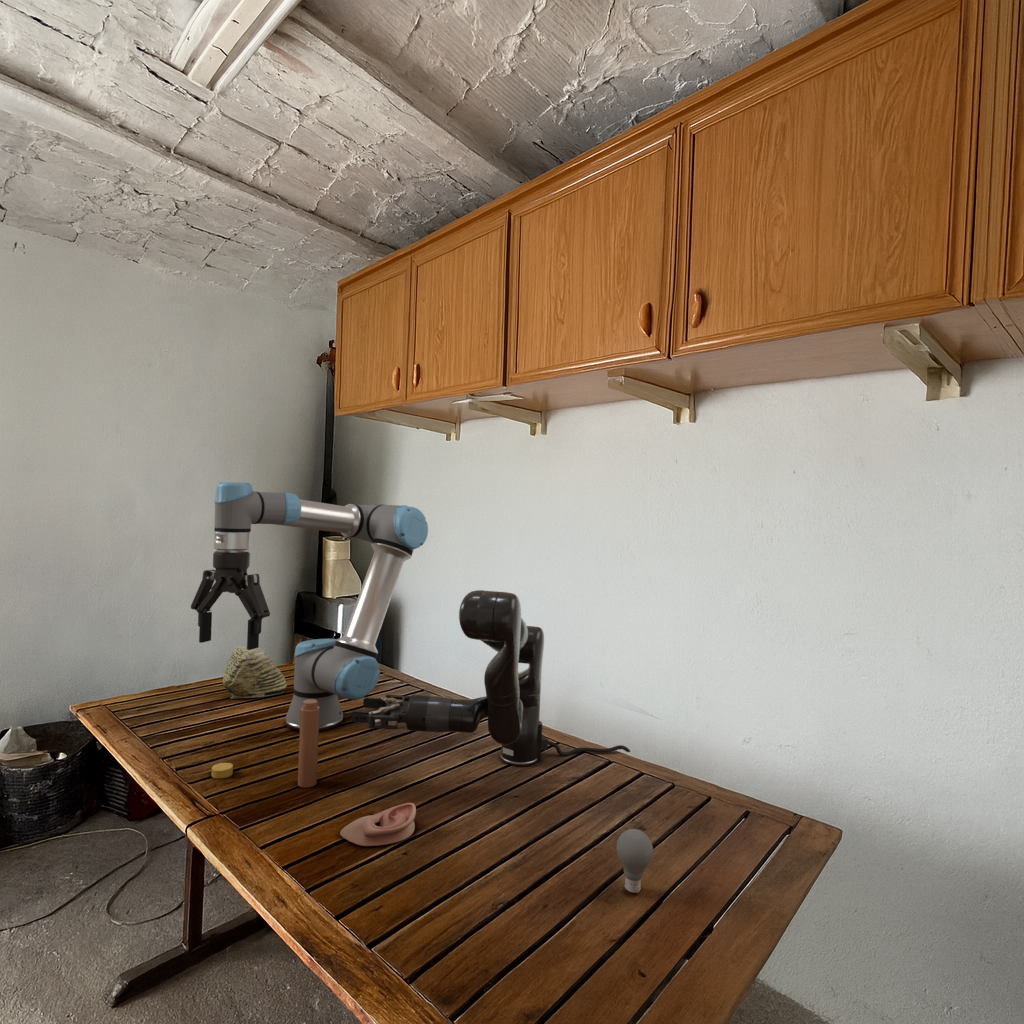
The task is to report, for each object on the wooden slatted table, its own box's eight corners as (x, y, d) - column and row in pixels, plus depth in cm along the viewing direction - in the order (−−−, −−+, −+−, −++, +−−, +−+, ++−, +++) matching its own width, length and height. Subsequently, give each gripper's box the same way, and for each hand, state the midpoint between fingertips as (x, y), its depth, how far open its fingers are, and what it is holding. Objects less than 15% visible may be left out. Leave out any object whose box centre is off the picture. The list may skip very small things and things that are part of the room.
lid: (230, 768, 145) (231, 761, 145) (234, 776, 142) (234, 768, 142) (210, 772, 143) (210, 764, 143) (212, 780, 139) (213, 772, 139)
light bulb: (610, 879, 108) (613, 822, 108) (644, 879, 109) (647, 822, 109) (619, 902, 102) (622, 840, 102) (655, 901, 103) (658, 840, 103)
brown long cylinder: (306, 789, 137) (309, 705, 137) (293, 784, 139) (296, 701, 139) (320, 782, 140) (323, 700, 140) (308, 777, 142) (311, 697, 142)
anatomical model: (332, 820, 116) (360, 792, 128) (332, 841, 116) (359, 811, 128) (400, 830, 114) (422, 801, 125) (400, 852, 114) (421, 821, 125)
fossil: (218, 695, 195) (220, 647, 195) (278, 685, 208) (279, 640, 207) (228, 703, 189) (230, 653, 188) (289, 692, 201) (290, 645, 201)
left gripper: (175, 547, 142) (172, 641, 143) (264, 555, 134) (261, 655, 134) (202, 546, 149) (199, 635, 150) (288, 553, 141) (285, 648, 141)
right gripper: (437, 686, 145) (367, 682, 146) (424, 708, 131) (347, 703, 132) (436, 718, 145) (366, 714, 146) (423, 743, 131) (346, 738, 132)
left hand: (228, 645), depth 142 cm, fingers open, 13 cm apart
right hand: (357, 709), depth 139 cm, fingers open, 8 cm apart
